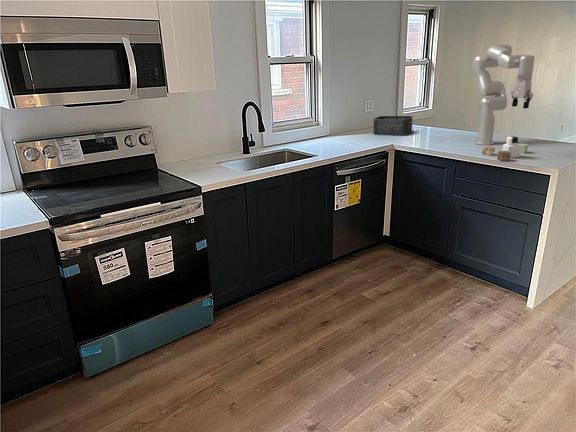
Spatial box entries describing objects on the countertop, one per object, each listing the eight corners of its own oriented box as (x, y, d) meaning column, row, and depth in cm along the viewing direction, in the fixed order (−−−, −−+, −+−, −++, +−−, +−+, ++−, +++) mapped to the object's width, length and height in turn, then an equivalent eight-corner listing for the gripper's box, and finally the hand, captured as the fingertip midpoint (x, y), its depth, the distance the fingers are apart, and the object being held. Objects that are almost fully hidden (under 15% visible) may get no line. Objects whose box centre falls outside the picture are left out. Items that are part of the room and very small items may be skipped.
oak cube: (481, 154, 264) (482, 146, 263) (487, 153, 266) (488, 145, 265) (488, 155, 260) (489, 147, 258) (494, 154, 262) (495, 146, 260)
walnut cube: (497, 159, 251) (498, 151, 249) (505, 159, 251) (506, 150, 249) (501, 161, 246) (502, 153, 244) (509, 160, 246) (510, 152, 244)
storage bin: (372, 135, 349) (372, 118, 344) (379, 131, 364) (379, 115, 359) (406, 136, 335) (407, 119, 330) (412, 132, 351) (413, 115, 346)
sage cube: (515, 152, 264) (516, 144, 262) (518, 151, 267) (519, 143, 265) (523, 153, 260) (524, 145, 259) (527, 152, 263) (528, 144, 262)
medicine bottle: (512, 154, 259) (515, 135, 254) (519, 157, 252) (522, 137, 248) (501, 155, 259) (503, 136, 254) (507, 158, 252) (510, 138, 248)
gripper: (508, 77, 255) (504, 106, 261) (529, 78, 239) (524, 109, 245) (519, 76, 256) (515, 105, 262) (540, 78, 240) (535, 108, 246)
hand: (519, 107), depth 254 cm, fingers open, 9 cm apart
